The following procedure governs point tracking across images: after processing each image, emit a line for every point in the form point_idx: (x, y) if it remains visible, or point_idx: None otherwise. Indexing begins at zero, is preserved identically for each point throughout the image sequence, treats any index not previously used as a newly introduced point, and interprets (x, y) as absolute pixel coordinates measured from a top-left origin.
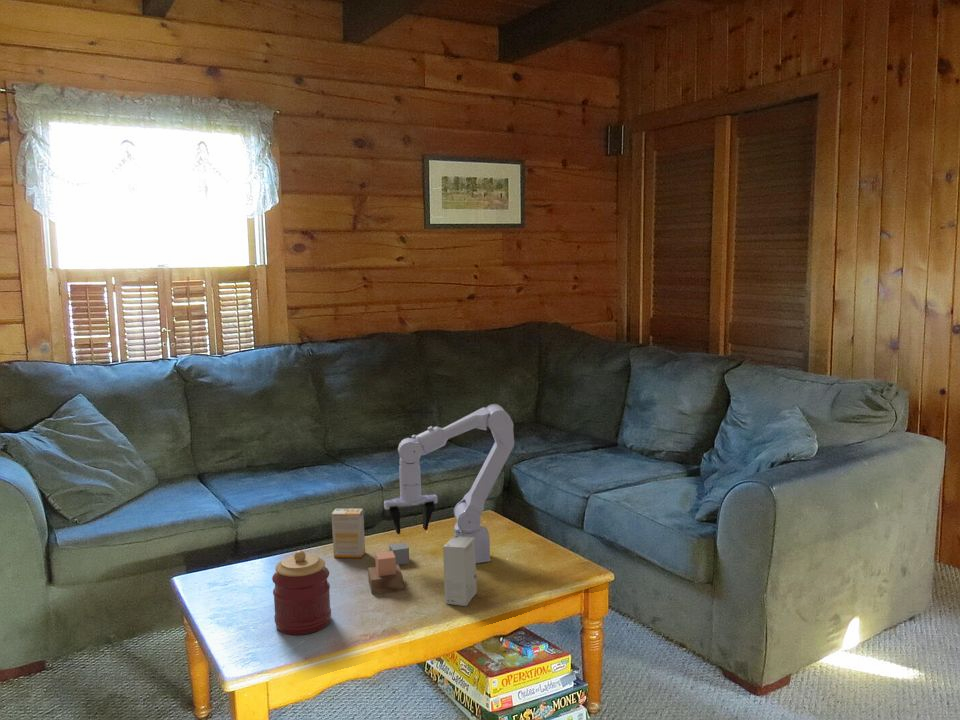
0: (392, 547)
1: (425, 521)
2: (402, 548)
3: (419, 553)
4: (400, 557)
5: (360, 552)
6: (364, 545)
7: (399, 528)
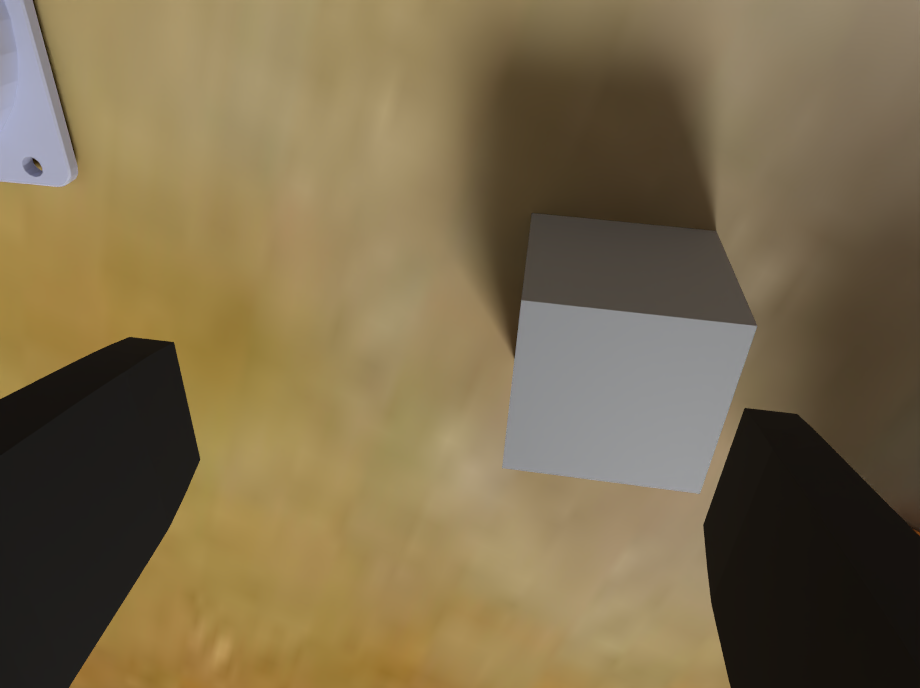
0: (711, 407)
1: (27, 476)
2: (609, 323)
3: (363, 377)
4: (639, 258)
5: None
6: None
7: (823, 492)
